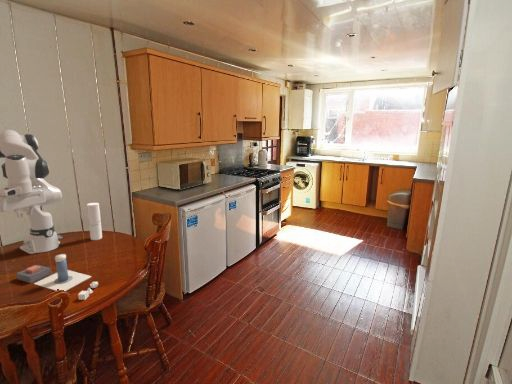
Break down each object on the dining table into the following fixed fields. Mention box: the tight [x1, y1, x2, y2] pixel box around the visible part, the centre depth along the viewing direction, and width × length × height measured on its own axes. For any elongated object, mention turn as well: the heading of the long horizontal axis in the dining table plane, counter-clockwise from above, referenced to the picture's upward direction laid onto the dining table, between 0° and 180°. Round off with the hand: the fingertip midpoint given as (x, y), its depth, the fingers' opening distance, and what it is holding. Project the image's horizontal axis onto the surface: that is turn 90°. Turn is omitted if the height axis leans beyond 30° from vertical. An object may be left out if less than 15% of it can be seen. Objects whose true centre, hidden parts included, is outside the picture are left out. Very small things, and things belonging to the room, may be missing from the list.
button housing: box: [16, 264, 52, 284], centre depth 147 cm, size 10×10×4 cm
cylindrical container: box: [86, 202, 103, 241], centre depth 197 cm, size 7×7×25 cm
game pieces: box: [77, 281, 99, 301], centre depth 135 cm, size 12×3×3 cm, turn 0°
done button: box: [26, 264, 41, 274], centre depth 147 cm, size 4×4×3 cm
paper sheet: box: [33, 269, 92, 292], centre depth 145 cm, size 20×16×1 cm
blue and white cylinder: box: [54, 253, 69, 282], centre depth 143 cm, size 5×5×13 cm
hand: (25, 216), depth 140 cm, fingers open, 3 cm apart
